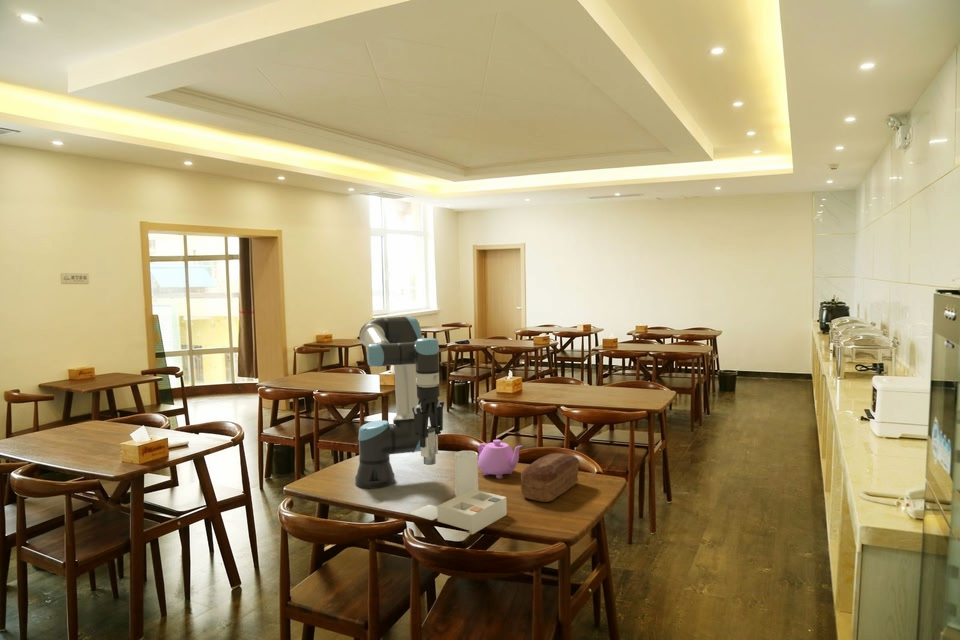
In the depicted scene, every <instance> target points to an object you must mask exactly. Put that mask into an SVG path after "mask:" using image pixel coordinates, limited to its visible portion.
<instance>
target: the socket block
mask: <svg viewBox="0 0 960 640" xmlns="http://www.w3.org/2000/svg"><path fill="white" fill-rule="evenodd" d="M507 513H508V512H507V497H506V496H503V495H499V494H496V493H495V494H494V493H490V492H486V491H483V490H479V489H478V490H475V489H472V490H470V491H468V492H466V493H464V494H461V495H459V496H457V497H456V496H455V497H453V498H451V499H449V500H447V501H444V502H443V503H441V504H438V505H437V516H438V518H437V522H439V523H442V524H446V525H450V526H452V527H456V528H460V529H463V530H466V534H470V535H474V534H476V533H478V532H479V531H481V530H483V529H484V528H485V527H488V526H489V525H491V524H493V523H495V522H496V521H498V520H500V519H502V518H503V517H505V516H507Z"/></svg>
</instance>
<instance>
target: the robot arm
mask: <svg viewBox="0 0 960 640" xmlns="http://www.w3.org/2000/svg"><path fill="white" fill-rule="evenodd" d="M422 335H423V334H422V330H421V326H420V323H419V321H418V319H417V318H416V317H414V316H394V317H393V316H392V317H391V316H389V317H376V318H373V319H371V320H369V321H366V323H364V324H363V326H361V328H360V329H359V334H358V336H359V340H360V343H361V345H363V346H364V347H365V348H366V360H367V361H366V362H367V365H368V366H370V367H378V368H379V367H387V366H393V372H394V373H393V374H394V389H395V391H394V392H395V407H396V415H395V416H394V417H393V420H392V421H393V422H392V423H390V422H389V421H388V420H385V419H384V420H375V421H370V422H366V423H365V424H362V425H361V426H360V427H359V429H358V439H357V440H358V450H359V451H358V454H359V455H358V458H359V460H358V461H359V463H358V464H359V465H358V467H357V473H356V475H355V485H356V486H357V487H359V488H365V489H379V488H385V487H387V486H390V485H392V484H393V483H394V482H395V481H396V480H395V479H396V478H395V473H394V471H393V467H392V465H391V460H390V456H391V455H395V454H396V455H398V454H406V453H407V454H409V453H417V452H420V456H421V457H423V458H424V457H429V446H428V437H426V436H427V427H428V426H434V427H435V448H436V455H438V454H439V448H438V447H439V435H441V433H442V431H443V430H444V424H443V422H444V418H443V417H444V405H445V401H440V400H439V397H440V392H441V391H440V356H439V355H440V353H439V352H440V347H439V340H438V339H437V338H432V337H427V338H426V337H422ZM429 422H430V425H429Z"/></svg>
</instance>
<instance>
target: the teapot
mask: <svg viewBox="0 0 960 640" xmlns="http://www.w3.org/2000/svg"><path fill="white" fill-rule="evenodd" d="M492 441H493V442H489V443H486V442H482V443H480V444H479V445H478V449H477V450H478V454H479V456H478V469H480V471H481V472H482V476H485V475H486V476H489V475H495V478H496V479H498V478H499V479H503V478H504V477H503V475H512V474H513V471H514V470H515V468H517V466H518V463H519V459H520V455H519V454H520V449H521V448H522V447H523V445H517V446H515V448H514V450H513V449H512V447H511V446H510V445H509V444H508V443H506V442H502V440H501V439H493V440H492ZM499 479H498V480H499Z"/></svg>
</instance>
